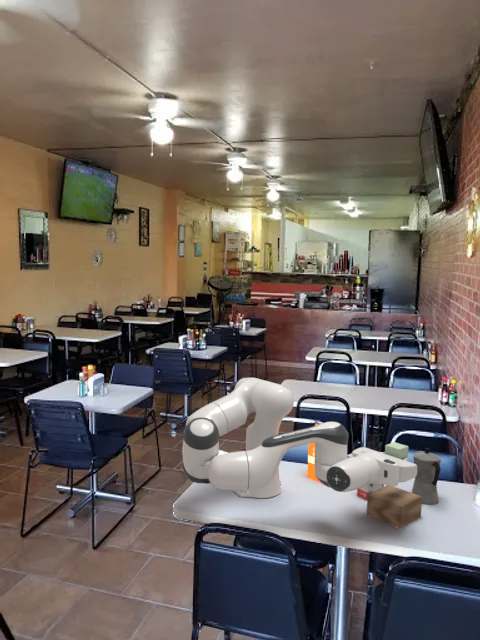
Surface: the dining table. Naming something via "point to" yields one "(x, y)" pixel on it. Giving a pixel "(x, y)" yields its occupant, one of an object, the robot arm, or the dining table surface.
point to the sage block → (396, 450)
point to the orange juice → (311, 461)
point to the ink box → (368, 490)
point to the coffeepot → (426, 476)
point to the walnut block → (394, 506)
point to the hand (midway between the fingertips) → (397, 457)
